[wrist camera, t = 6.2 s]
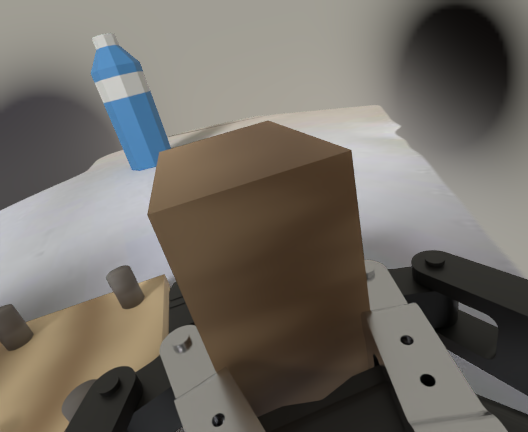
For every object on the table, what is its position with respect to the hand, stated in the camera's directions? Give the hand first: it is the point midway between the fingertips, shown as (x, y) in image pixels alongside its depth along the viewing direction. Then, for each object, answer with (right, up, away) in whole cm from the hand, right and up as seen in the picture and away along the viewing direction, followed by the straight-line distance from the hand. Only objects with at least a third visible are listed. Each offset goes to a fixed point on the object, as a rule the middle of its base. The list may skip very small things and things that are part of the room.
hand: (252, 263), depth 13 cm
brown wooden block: (+2, -7, 0) cm, 7 cm away
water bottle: (-24, +13, +57) cm, 63 cm away
